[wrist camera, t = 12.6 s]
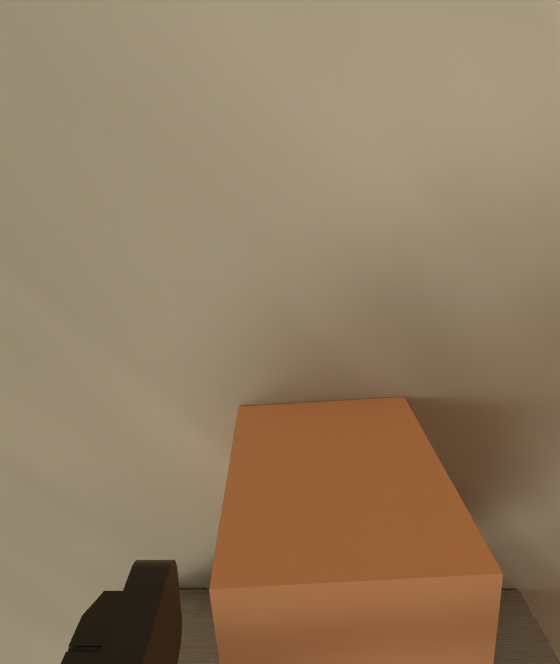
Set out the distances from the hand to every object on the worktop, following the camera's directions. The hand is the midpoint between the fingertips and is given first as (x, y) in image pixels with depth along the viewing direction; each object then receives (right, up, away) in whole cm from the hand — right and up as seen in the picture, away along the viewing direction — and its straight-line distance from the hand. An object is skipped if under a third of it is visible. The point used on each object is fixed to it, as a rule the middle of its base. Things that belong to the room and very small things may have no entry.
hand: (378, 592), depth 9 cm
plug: (0, -3, +6) cm, 7 cm away
